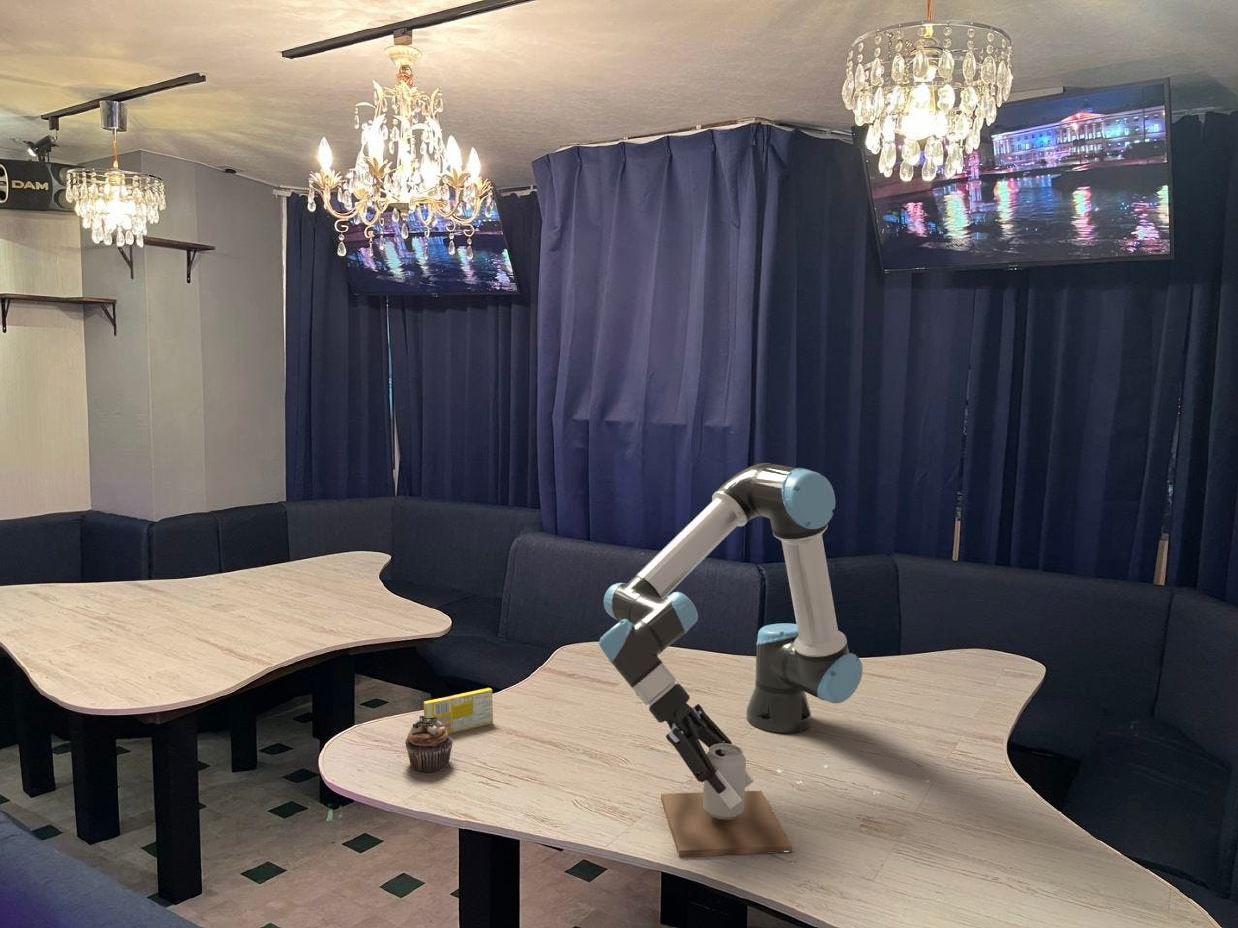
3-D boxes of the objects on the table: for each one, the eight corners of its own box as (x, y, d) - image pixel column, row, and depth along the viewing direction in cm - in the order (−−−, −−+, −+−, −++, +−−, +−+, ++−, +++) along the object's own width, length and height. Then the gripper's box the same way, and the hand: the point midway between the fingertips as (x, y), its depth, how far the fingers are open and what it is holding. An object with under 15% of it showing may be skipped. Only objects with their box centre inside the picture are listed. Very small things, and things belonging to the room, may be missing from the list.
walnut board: (761, 796, 178) (761, 790, 178) (791, 852, 159) (791, 845, 159) (660, 799, 176) (661, 793, 176) (678, 856, 156) (679, 850, 156)
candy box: (489, 720, 211) (489, 686, 210) (493, 724, 210) (493, 689, 209) (423, 735, 203) (423, 700, 202) (426, 739, 201) (426, 703, 200)
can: (699, 801, 171) (702, 740, 169) (738, 800, 171) (741, 740, 170) (706, 821, 163) (709, 758, 162) (747, 821, 164) (750, 758, 162)
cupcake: (450, 774, 184) (450, 727, 183) (402, 775, 184) (401, 727, 182) (455, 753, 194) (455, 709, 193) (409, 754, 193) (409, 709, 192)
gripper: (667, 687, 180) (743, 781, 176) (627, 725, 162) (710, 831, 157) (693, 665, 177) (771, 760, 173) (656, 701, 159) (741, 809, 155)
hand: (742, 794), depth 165 cm, fingers closed on can, 7 cm apart
